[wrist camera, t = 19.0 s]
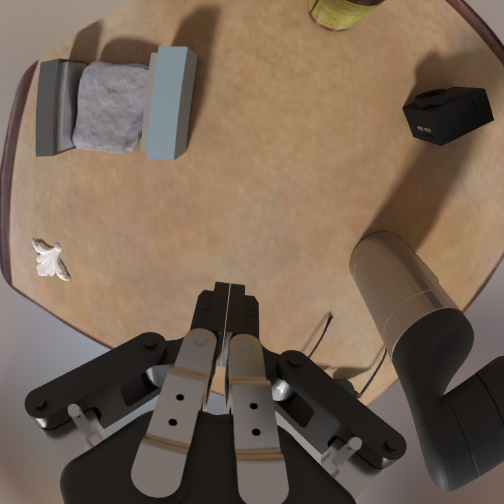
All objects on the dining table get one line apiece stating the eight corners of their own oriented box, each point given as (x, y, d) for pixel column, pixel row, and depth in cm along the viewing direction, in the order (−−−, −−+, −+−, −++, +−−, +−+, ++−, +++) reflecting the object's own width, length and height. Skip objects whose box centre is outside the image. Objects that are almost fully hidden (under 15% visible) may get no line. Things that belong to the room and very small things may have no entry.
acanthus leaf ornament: (72, 277, 43) (67, 283, 41) (44, 274, 43) (39, 280, 41) (61, 238, 39) (56, 243, 38) (33, 237, 39) (27, 242, 38)
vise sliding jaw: (198, 55, 27) (187, 46, 22) (185, 151, 33) (173, 160, 28) (165, 55, 27) (149, 47, 22) (154, 149, 33) (137, 157, 28)
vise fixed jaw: (90, 61, 27) (65, 57, 21) (83, 147, 32) (58, 155, 27) (67, 64, 26) (40, 62, 21) (61, 147, 32) (36, 156, 27)
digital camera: (451, 78, 27) (482, 79, 21) (463, 113, 29) (495, 120, 23) (398, 99, 29) (426, 100, 23) (413, 137, 32) (442, 146, 25)
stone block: (165, 65, 30) (92, 61, 27) (160, 62, 26) (79, 59, 23) (148, 151, 35) (81, 146, 33) (142, 160, 31) (67, 154, 29)
